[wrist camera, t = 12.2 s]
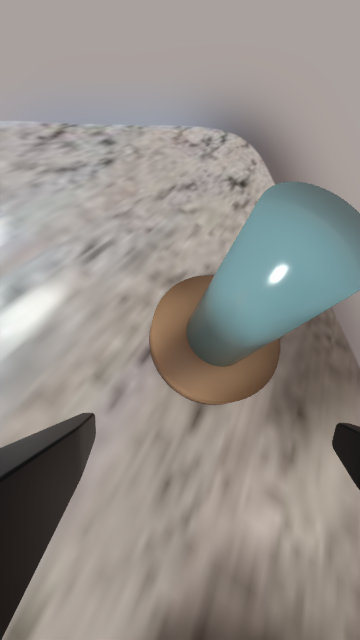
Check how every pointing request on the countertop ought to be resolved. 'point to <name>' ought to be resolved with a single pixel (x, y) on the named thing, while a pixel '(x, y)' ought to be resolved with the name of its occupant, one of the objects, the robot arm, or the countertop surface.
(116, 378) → the countertop surface
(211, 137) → the countertop surface
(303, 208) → the teal tapered cylinder
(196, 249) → the countertop surface
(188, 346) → the base plate
